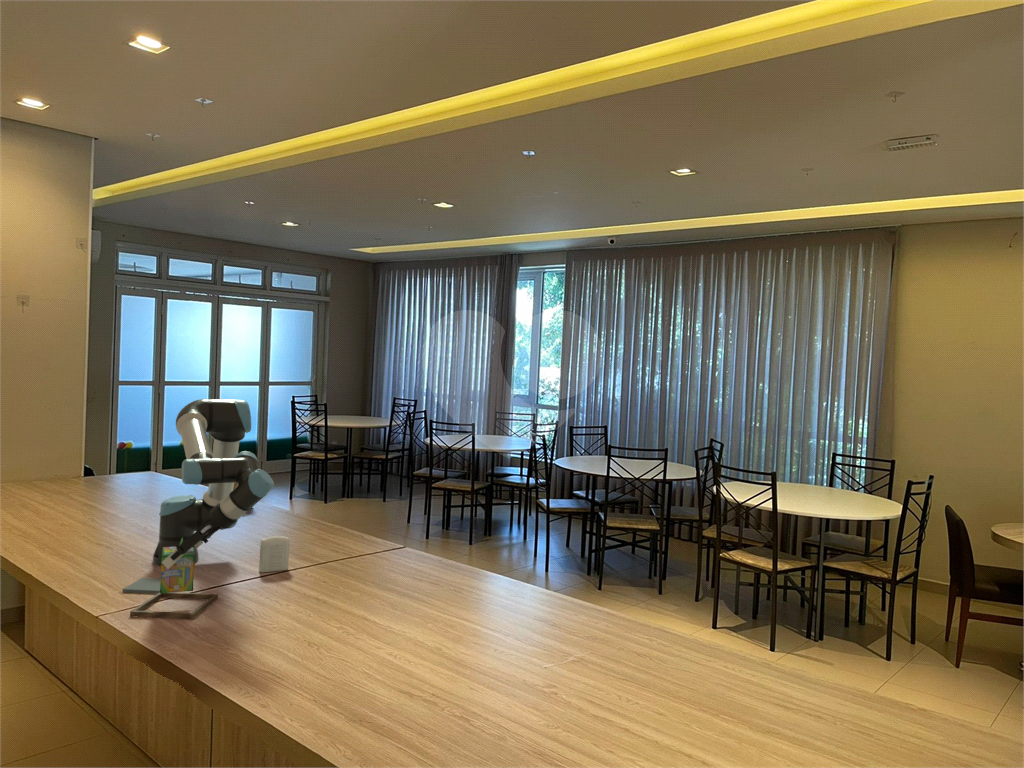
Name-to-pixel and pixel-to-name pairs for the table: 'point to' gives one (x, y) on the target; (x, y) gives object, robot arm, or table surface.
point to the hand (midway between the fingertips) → (175, 559)
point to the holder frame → (174, 615)
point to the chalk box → (177, 572)
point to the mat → (144, 586)
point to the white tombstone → (274, 554)
